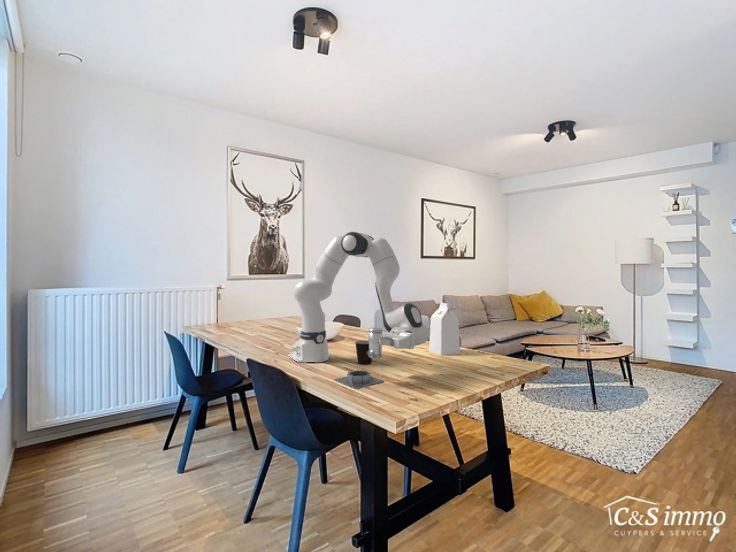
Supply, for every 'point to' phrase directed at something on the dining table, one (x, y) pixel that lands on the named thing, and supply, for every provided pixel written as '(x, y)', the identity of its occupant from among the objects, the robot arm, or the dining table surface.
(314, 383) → the dining table surface
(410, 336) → the robot arm
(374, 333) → the grey metal cylinder
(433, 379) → the dining table surface
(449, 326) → the milk
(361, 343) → the coffee mug
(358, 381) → the duct collar
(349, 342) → the dining table surface
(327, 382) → the dining table surface
